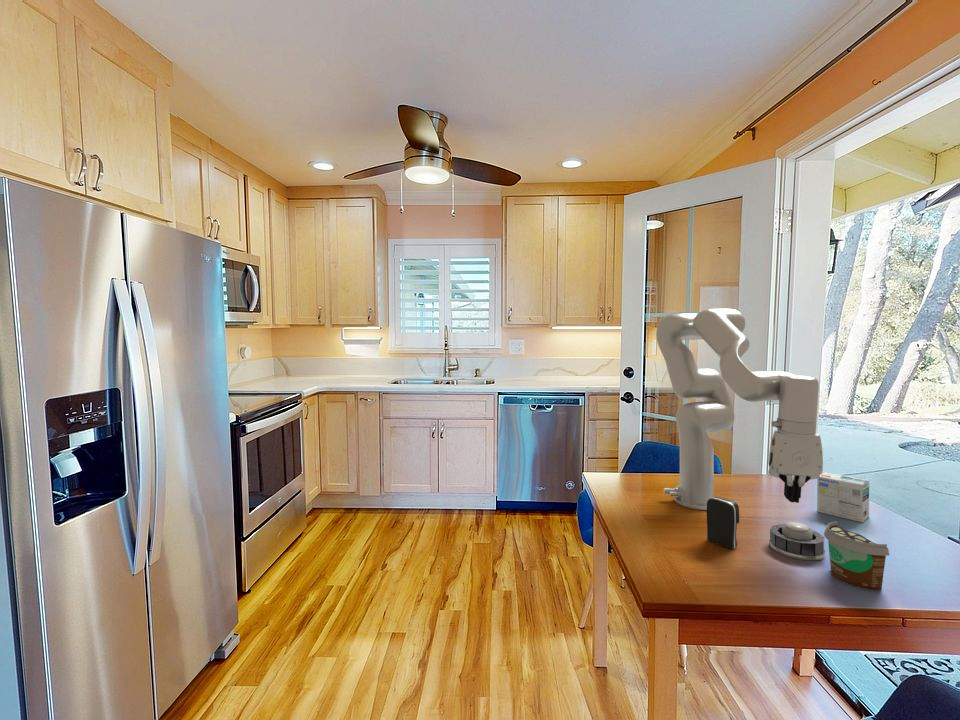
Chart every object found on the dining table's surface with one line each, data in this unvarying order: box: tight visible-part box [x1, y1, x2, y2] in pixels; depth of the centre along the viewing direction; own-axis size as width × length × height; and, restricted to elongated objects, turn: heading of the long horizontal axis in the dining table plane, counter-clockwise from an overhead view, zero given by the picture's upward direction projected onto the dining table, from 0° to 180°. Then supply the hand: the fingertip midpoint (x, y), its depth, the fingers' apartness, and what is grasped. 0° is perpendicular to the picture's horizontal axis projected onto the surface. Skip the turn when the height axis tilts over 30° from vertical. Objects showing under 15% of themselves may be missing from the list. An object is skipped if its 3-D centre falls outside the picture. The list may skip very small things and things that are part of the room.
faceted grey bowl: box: [769, 523, 826, 562], centre depth 108 cm, size 11×11×4 cm
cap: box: [782, 521, 814, 541], centre depth 108 cm, size 6×6×5 cm
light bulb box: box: [816, 471, 870, 523], centre depth 128 cm, size 11×7×11 cm, turn 37°
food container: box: [823, 521, 890, 591], centre depth 95 cm, size 12×6×10 cm, turn 5°
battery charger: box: [706, 496, 740, 550], centre depth 112 cm, size 7×4×11 cm, turn 33°
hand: (791, 500), depth 109 cm, fingers closed
